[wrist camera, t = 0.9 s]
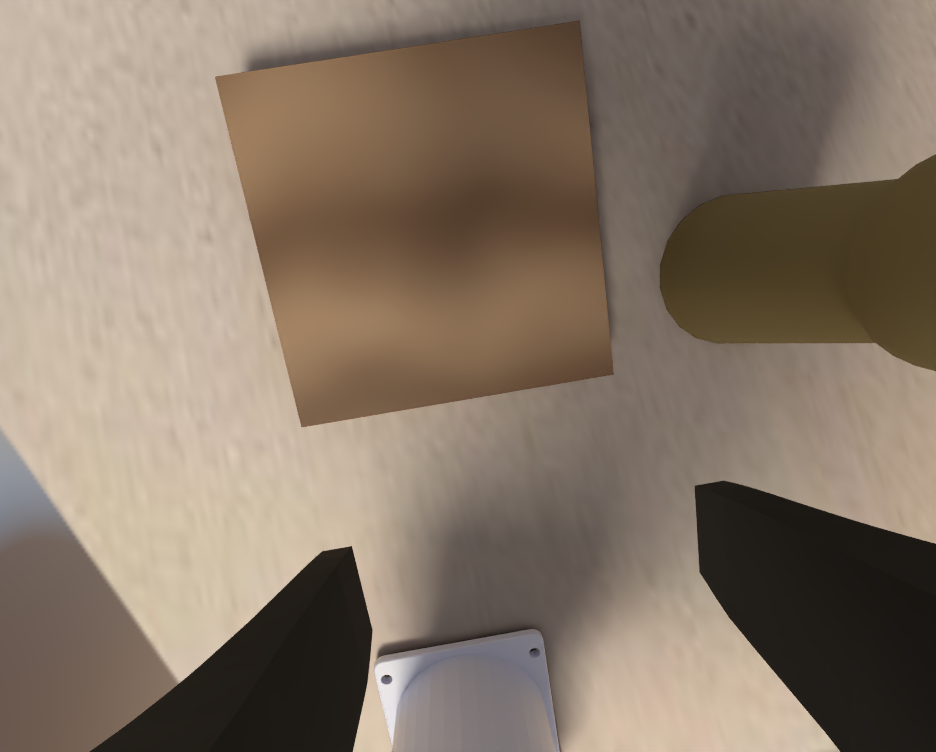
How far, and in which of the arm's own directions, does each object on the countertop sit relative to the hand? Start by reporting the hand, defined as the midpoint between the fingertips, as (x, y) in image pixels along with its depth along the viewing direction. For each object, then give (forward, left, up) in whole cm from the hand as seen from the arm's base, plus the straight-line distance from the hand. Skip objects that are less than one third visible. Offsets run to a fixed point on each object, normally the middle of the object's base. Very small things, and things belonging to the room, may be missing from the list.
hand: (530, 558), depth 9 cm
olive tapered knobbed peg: (+4, -11, -11) cm, 16 cm away
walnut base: (+7, +1, -10) cm, 13 cm away
